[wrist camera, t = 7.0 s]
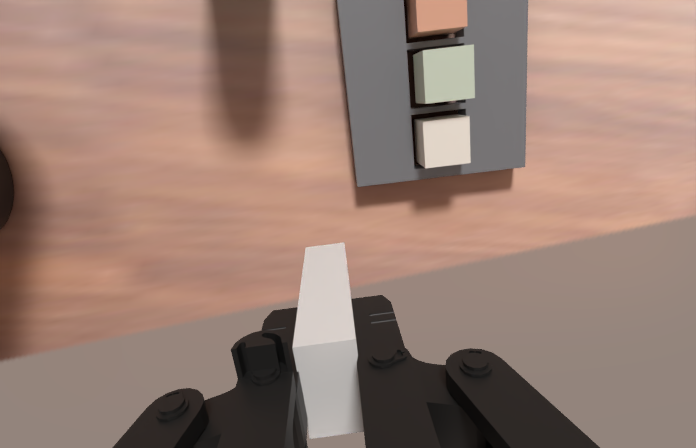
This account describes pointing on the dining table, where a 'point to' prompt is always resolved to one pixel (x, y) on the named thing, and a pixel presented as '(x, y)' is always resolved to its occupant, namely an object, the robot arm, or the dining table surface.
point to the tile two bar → (444, 74)
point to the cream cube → (442, 140)
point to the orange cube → (435, 17)
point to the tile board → (395, 112)
